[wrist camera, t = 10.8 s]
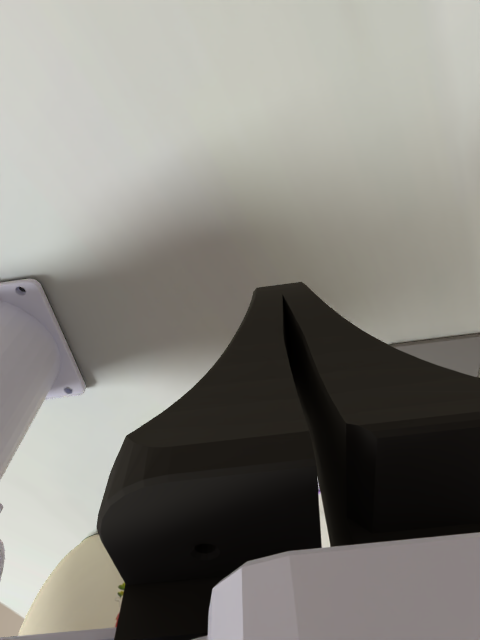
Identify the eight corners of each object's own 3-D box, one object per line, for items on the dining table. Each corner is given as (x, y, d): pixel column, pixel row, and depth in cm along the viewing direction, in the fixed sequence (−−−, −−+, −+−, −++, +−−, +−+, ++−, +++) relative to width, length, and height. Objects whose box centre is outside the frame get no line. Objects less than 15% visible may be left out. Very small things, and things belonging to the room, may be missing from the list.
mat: (379, 489, 32) (380, 493, 32) (388, 344, 25) (390, 347, 25) (452, 482, 32) (454, 485, 32) (483, 332, 25) (486, 335, 24)
